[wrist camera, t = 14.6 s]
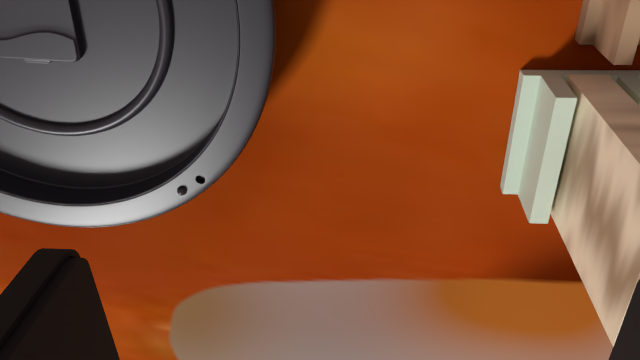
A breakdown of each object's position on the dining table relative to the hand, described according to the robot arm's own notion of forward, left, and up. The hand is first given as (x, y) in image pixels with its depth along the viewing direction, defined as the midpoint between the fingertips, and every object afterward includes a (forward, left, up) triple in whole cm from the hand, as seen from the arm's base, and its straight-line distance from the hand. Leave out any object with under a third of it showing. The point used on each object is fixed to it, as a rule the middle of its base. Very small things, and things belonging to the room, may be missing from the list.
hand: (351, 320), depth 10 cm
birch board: (+10, +14, -27) cm, 32 cm away
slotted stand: (+10, +14, -28) cm, 33 cm away
